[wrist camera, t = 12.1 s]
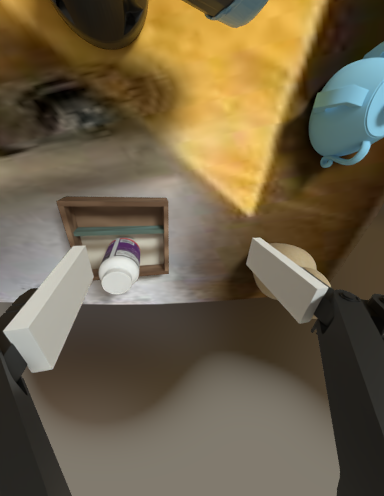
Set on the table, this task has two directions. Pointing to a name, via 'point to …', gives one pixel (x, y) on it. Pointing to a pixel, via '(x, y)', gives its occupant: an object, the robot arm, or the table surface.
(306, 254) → the vase
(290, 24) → the table surface
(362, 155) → the teapot
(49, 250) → the table surface
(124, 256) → the pill bottle
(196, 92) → the table surface
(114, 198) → the crate
